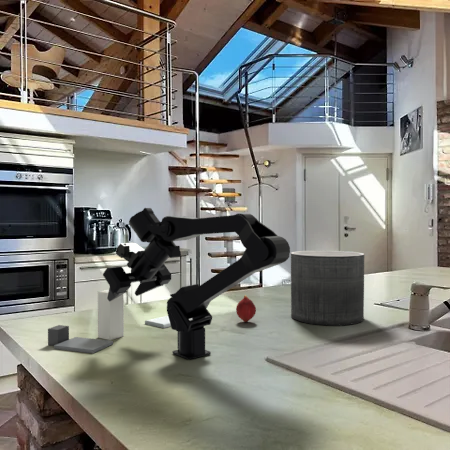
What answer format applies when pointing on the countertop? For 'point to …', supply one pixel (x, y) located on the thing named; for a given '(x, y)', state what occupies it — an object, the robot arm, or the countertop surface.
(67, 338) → the charging dock
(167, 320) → the external hard drive
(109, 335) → the brick
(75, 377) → the countertop surface
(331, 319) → the planter
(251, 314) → the onion
